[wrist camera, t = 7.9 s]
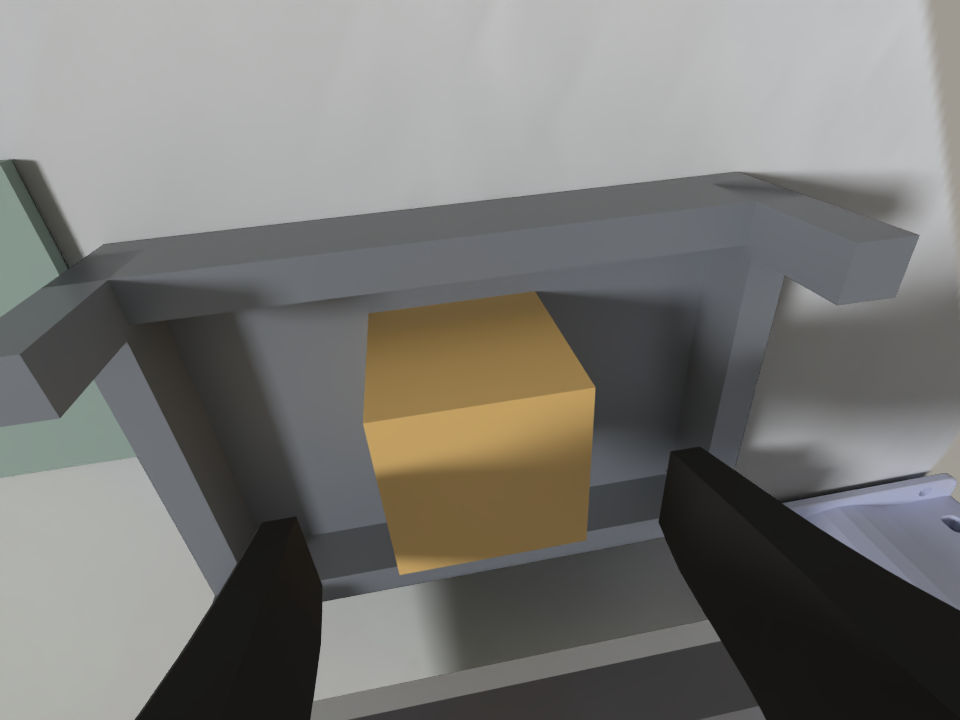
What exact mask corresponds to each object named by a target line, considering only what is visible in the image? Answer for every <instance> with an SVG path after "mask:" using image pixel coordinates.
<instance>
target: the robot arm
mask: <svg viewBox="0 0 960 720" xmlns="http://www.w3.org/2000/svg"><path fill="white" fill-rule="evenodd" d="M956 484H957V481H956V479H955V478H953V477H952V476H950V475H949V474H947V473H943V474H937V475H931V476H926V477H921V478H915V479H910V480H904V481H899V482H894V483H888V484H883V485H877V486H872V487H867V488H861V489H856V490H851V491H845V492H840V493H834V494H829V495H824V496H818V497H813V498H807V499H802V500H797V501H791V502H786V503H781V502H779V501H778V500H777V499H775V498H774V497H772V496H771V495H769V494H768V493H766V492H765V491H764V490H762V489H761V488H759V487H758V486H756V485H755V484H753V483H752V482H751V481H749V480H748V479H746V478H745V477H743V476H742V475H741V474H739V473H738V472H736V471H735V470H733V469H732V468H731V467H729V466H728V465H726V464H725V463H723V462H722V461H721V460H719V459H718V458H716V457H715V456H713V455H712V454H710V453H709V452H707V451H706V450H704V449H703V448H701V447H700V446H699V447H693V448H687V449H681V450H676V451H670V457H669V463H668V469H667V475H666V481H665V487H664V492H663V498H662V504H661V510H660V516H659V525H660V527H661V530H662V532H663V534H664V537H665V539H666V541H667V544H668V546H669V548H670V550H671V553H672V555H673V557H674V559H675V561H676V564H677V566H678V568H679V570H680V572H681V574H682V575H683V577H684V579H685V581H686V582H687V584H688V586H689V588H690V589H691V591H692V593H693V594H694V596H695V598H696V600H697V601H698V603H699V605H700V606H701V608H702V610H703V611H704V613H705V615H706V617H707V618H708V620H709V622H710V623H711V625H712V627H713V628H714V630H715V632H716V633H717V635H718V637H719V638H720V640H721V642H722V643H723V645H724V647H725V648H726V650H727V652H728V653H729V655H730V657H731V658H732V660H733V662H734V663H735V665H736V667H737V668H738V670H739V672H740V674H741V675H742V677H743V679H744V680H745V682H746V684H747V685H748V687H749V689H750V691H751V693H752V694H753V696H754V698H755V700H756V702H757V704H758V705H759V707H760V709H761V711H762V713H763V715H764V717H765V719H766V720H960V503H959V502H958V501H956V500H955V499H953V498H952V497H951V496H950V495H951V494H952V492H953V490H954V488H955V487H956ZM322 587H323V586H322V583H321V580H320V578H319V575H318V572H317V570H316V567H315V564H314V562H313V559H312V556H311V554H310V551H309V548H308V546H307V543H306V540H305V538H304V535H303V533H302V530H301V527H300V525H299V522H298V519H297V517H296V516H295V517H290V518H284V519H278V520H272V521H267V522H262V523H261V524H260V525H259V527H258V528H257V530H256V531H255V533H254V535H253V537H252V538H251V540H250V542H249V543H248V545H247V547H246V549H245V550H244V552H243V554H242V555H241V557H240V559H239V561H238V562H237V564H236V566H235V567H234V569H233V571H232V572H231V574H230V576H229V577H228V579H227V581H226V582H225V584H224V586H223V587H222V589H221V591H220V592H219V594H218V596H217V597H216V599H215V601H214V602H213V604H212V605H211V607H210V608H209V610H208V612H207V613H206V615H205V616H204V618H203V620H202V621H201V623H200V624H199V626H198V627H197V629H196V631H195V632H194V634H193V635H192V637H191V638H190V640H189V642H188V643H187V645H186V646H185V648H184V649H183V651H182V652H181V654H180V655H179V657H178V658H177V660H176V661H175V663H174V664H173V665H172V667H171V668H170V670H169V671H168V673H167V674H166V676H165V677H164V678H163V680H162V681H161V683H160V684H159V686H158V687H157V689H156V690H155V692H154V693H153V694H152V696H151V697H150V699H149V700H148V702H147V703H146V705H145V706H144V707H143V709H142V710H141V712H140V713H139V714H138V716H137V717H136V719H135V720H310V719H311V712H312V705H313V698H314V691H315V683H316V676H317V669H318V661H319V654H320V646H321V627H322Z"/></svg>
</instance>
